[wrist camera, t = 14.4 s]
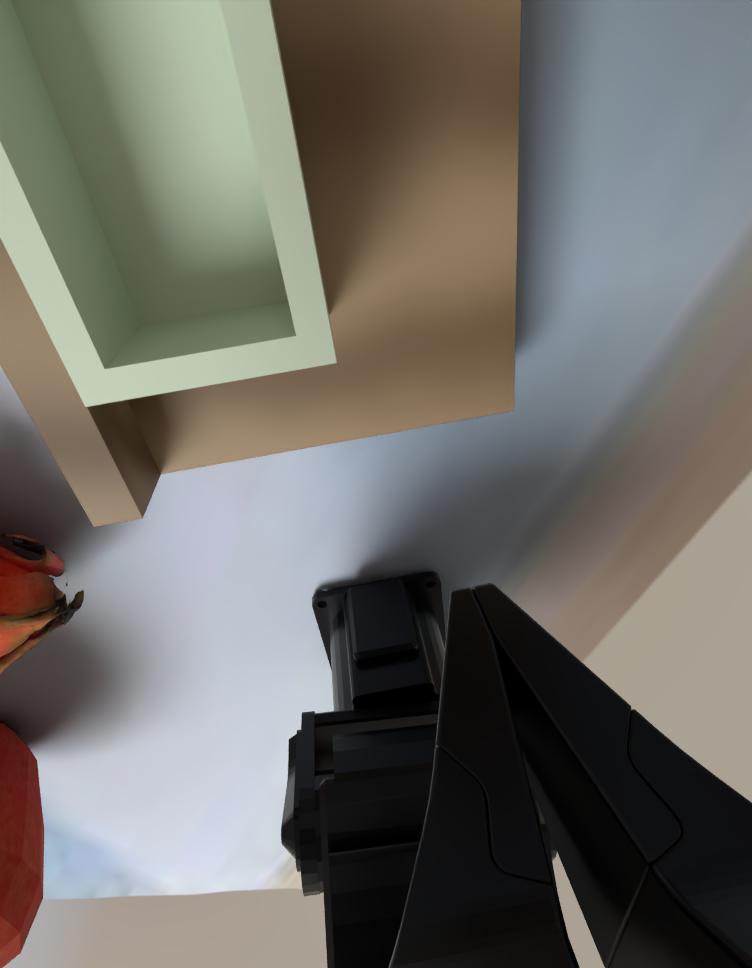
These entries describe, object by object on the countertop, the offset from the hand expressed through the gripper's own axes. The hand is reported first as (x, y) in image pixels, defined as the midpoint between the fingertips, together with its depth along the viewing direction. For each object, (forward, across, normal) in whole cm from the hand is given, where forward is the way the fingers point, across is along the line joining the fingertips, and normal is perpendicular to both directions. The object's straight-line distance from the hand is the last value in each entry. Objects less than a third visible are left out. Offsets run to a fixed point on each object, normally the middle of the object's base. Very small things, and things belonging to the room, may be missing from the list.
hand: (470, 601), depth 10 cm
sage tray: (+9, +5, -8) cm, 13 cm away
